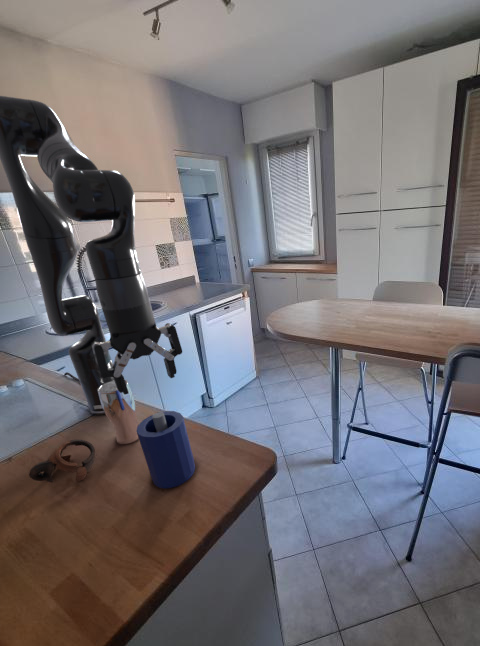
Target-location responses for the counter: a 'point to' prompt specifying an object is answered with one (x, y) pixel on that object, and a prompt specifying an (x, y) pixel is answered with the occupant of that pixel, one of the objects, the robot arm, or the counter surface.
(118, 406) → the beer glass
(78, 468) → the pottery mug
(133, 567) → the counter surface
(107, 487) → the counter surface
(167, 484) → the vase
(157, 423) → the marker
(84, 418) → the counter surface
